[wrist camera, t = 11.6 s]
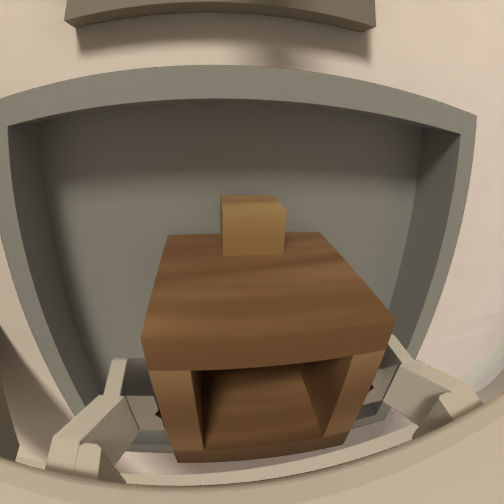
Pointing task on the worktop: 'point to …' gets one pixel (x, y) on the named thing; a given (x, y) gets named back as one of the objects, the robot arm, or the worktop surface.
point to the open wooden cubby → (259, 338)
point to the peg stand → (228, 10)
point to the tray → (217, 196)
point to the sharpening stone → (7, 430)
